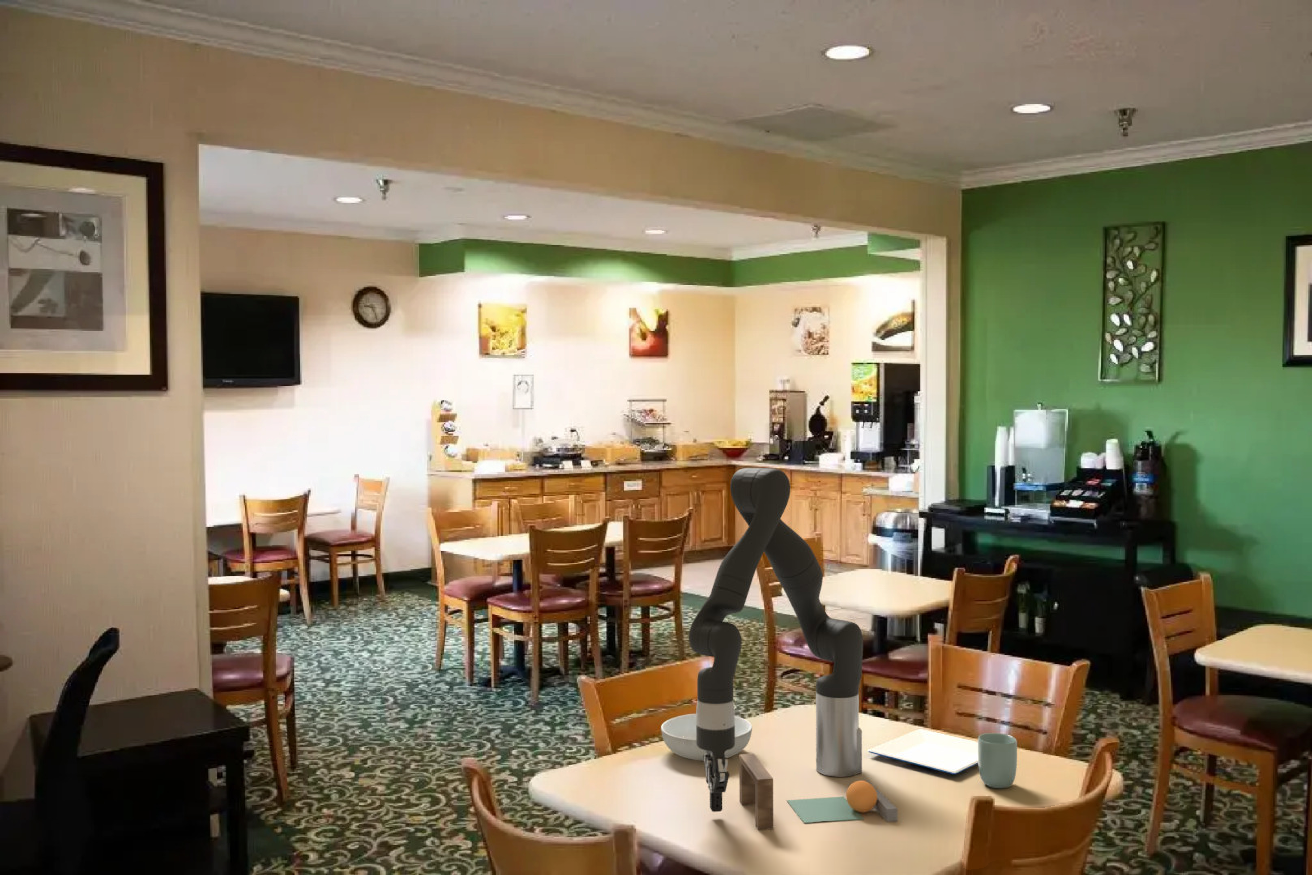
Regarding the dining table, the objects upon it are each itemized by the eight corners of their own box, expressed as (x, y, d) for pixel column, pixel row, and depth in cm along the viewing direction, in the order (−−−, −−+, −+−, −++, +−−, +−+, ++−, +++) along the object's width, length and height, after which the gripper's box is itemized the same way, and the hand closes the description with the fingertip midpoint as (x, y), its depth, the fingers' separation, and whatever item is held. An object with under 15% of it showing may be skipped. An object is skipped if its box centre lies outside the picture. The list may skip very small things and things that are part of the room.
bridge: (753, 800, 226) (753, 753, 226) (773, 828, 211) (773, 778, 211) (739, 801, 225) (739, 754, 225) (758, 829, 211) (757, 779, 210)
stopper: (868, 792, 230) (868, 780, 230) (897, 820, 214) (897, 808, 214) (859, 792, 230) (859, 780, 230) (887, 821, 214) (887, 808, 214)
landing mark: (843, 797, 227) (843, 796, 227) (863, 819, 216) (863, 818, 216) (786, 801, 225) (786, 800, 225) (804, 823, 214) (804, 822, 214)
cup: (972, 779, 237) (972, 733, 237) (1007, 778, 238) (1007, 732, 238) (986, 792, 230) (986, 744, 229) (1022, 791, 230) (1022, 743, 230)
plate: (1005, 756, 253) (1005, 747, 253) (955, 781, 237) (955, 772, 237) (919, 736, 269) (919, 727, 268) (866, 758, 253) (866, 749, 253)
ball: (875, 779, 223) (846, 774, 222) (883, 788, 217) (853, 783, 216) (869, 808, 223) (840, 804, 222) (877, 818, 217) (847, 813, 216)
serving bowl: (685, 736, 270) (685, 708, 269) (765, 748, 260) (765, 719, 260) (645, 761, 251) (644, 731, 251) (729, 775, 241) (729, 744, 241)
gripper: (742, 731, 210) (742, 821, 211) (726, 711, 223) (727, 796, 224) (703, 733, 209) (704, 824, 210) (690, 713, 222) (690, 799, 223)
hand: (716, 809), depth 217 cm, fingers closed
